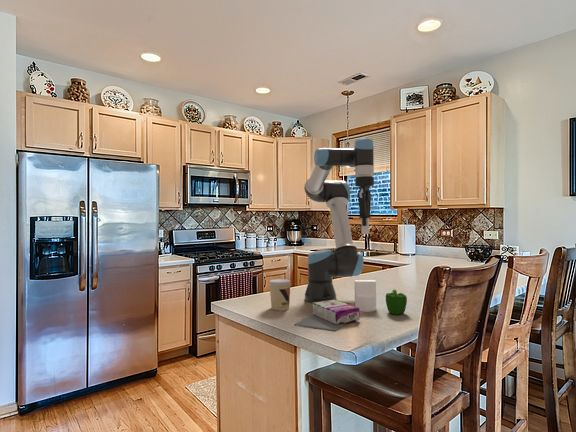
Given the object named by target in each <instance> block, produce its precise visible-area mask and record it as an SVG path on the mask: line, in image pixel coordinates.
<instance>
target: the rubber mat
mask: <svg viewBox="0 0 576 432" xmlns="http://www.w3.org/2000/svg"><path fill="white" fill-rule="evenodd" d="M345 324H346V323H341V324H334V323H331V322H329V321H327V320H325V319H323V318H320V317H318V316H316V315H314V314H313V312H312V313H310V314H309V315H306V316H304V317H303V318H302V319H301V320H299V321H297V322H295V323H294V326H296V325H299V327H303V326H304V328H310V329H318V330H326V331H333V332H336V331H338V330H339V329H340V328H341V327H343V325H345Z"/></svg>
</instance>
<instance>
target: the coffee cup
mask: <svg viewBox="0 0 576 432" xmlns="http://www.w3.org/2000/svg"><path fill="white" fill-rule="evenodd" d="M291 283H292V282H291V280H290V279H287V278H273V279H270V280H269V282H268V284H269V295H270V304H271V305H270V306H271V309H272V310H273V309H276V310H275V311H284V310H283V309H287V310H289V309H290V300H291V299H290V298H291ZM288 308H289V309H288Z"/></svg>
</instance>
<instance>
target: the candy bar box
mask: <svg viewBox="0 0 576 432" xmlns="http://www.w3.org/2000/svg"><path fill="white" fill-rule="evenodd" d="M312 313H313V314H314V315H316V316H318V317H320V318H323V319H325V320H327V321H329V322H331V323H334V324H341V323H345V324H346V323H350V322H357V321H360V320H361V317H360V316H361V315H360V314H361V313H360V311H359V308H358V307H355V305H352V304H348V303H346V302H343V301H340V300H337V299H336V300H335V299H334V300H327V301H321V302H312Z"/></svg>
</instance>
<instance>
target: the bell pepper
mask: <svg viewBox="0 0 576 432" xmlns="http://www.w3.org/2000/svg"><path fill="white" fill-rule="evenodd" d="M397 292H398V291H397V290H396V289H392V291H391V292H388V293H387V292H386V293H385V304H386V307H387V311H388V313H389V314H391V315H394V316H395V315H396V316H399V315H401V314H404V313H405V312H406V307H407V303H408V297H407V295H406V294H404V293H403V292H399V293H397Z"/></svg>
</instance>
